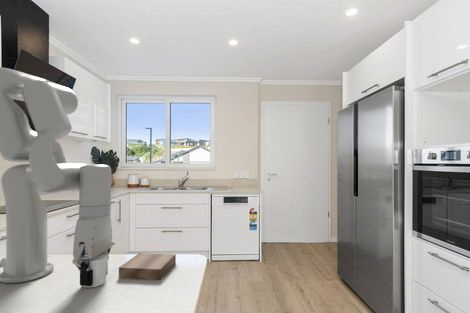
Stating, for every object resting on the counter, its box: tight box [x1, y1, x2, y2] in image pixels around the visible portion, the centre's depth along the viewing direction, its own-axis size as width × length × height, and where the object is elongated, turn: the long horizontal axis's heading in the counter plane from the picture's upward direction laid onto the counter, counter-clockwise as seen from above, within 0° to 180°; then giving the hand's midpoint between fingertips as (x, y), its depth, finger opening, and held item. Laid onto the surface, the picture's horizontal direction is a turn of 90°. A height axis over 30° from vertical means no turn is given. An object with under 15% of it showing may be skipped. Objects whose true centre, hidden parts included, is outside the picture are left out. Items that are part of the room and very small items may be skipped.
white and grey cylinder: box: [82, 253, 110, 288], centre depth 73 cm, size 7×7×7 cm
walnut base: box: [118, 252, 177, 281], centre depth 82 cm, size 12×12×3 cm
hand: (94, 279), depth 73 cm, fingers closed on white and grey cylinder, 5 cm apart
